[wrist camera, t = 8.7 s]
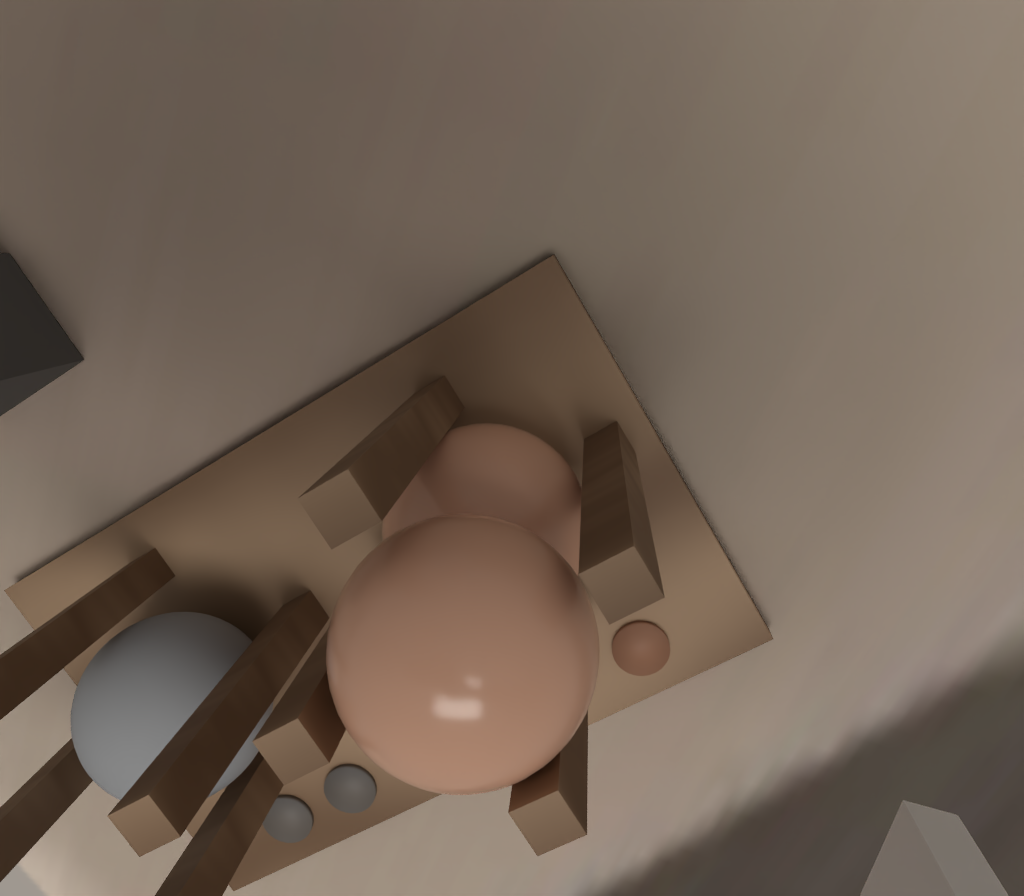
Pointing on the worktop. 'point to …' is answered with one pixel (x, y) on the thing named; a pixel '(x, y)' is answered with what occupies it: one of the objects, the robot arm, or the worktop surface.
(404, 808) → the rack
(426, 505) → the ball
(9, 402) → the stand
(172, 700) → the ball
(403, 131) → the worktop surface
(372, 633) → the ball loose
